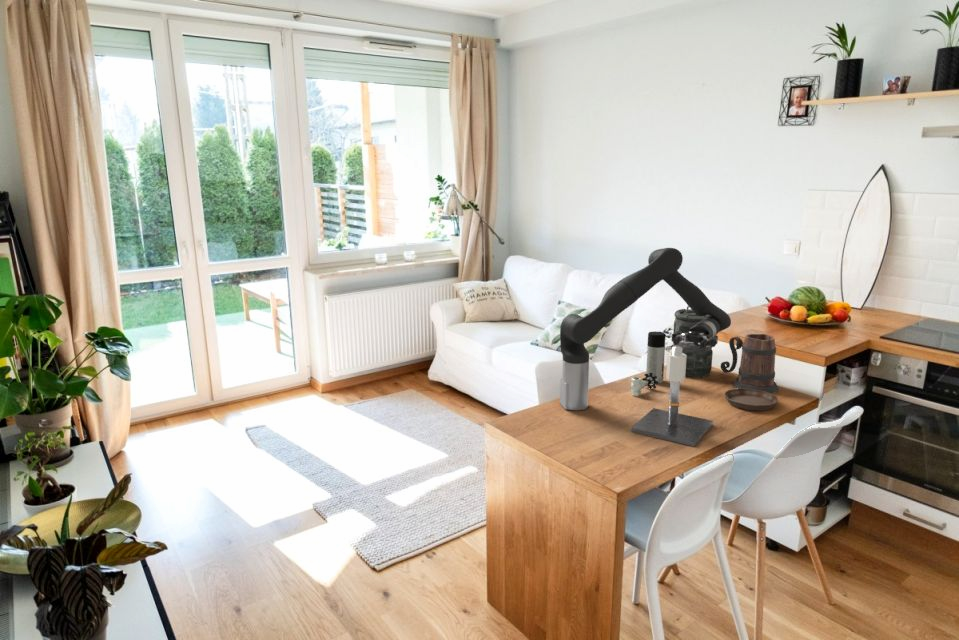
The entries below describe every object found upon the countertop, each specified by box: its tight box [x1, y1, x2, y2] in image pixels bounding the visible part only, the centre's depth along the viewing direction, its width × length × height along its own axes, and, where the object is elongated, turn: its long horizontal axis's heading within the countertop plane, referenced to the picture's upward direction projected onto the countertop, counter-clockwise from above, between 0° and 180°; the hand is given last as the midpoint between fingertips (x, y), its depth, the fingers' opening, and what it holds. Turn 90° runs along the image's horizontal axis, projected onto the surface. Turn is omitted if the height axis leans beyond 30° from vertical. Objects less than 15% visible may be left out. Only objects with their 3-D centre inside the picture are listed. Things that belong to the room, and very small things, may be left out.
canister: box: [672, 305, 714, 378], centre depth 250 cm, size 16×16×28 cm
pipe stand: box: [630, 345, 714, 447], centre depth 195 cm, size 20×20×28 cm
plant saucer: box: [723, 388, 779, 411], centre depth 218 cm, size 18×18×3 cm
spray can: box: [645, 331, 666, 385], centre depth 241 cm, size 7×7×20 cm
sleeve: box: [665, 351, 687, 382], centre depth 193 cm, size 5×5×8 cm
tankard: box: [720, 333, 780, 394], centre depth 237 cm, size 24×17×20 cm
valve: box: [630, 372, 658, 397], centre depth 231 cm, size 7×7×12 cm
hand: (688, 343), depth 201 cm, fingers open, 8 cm apart
